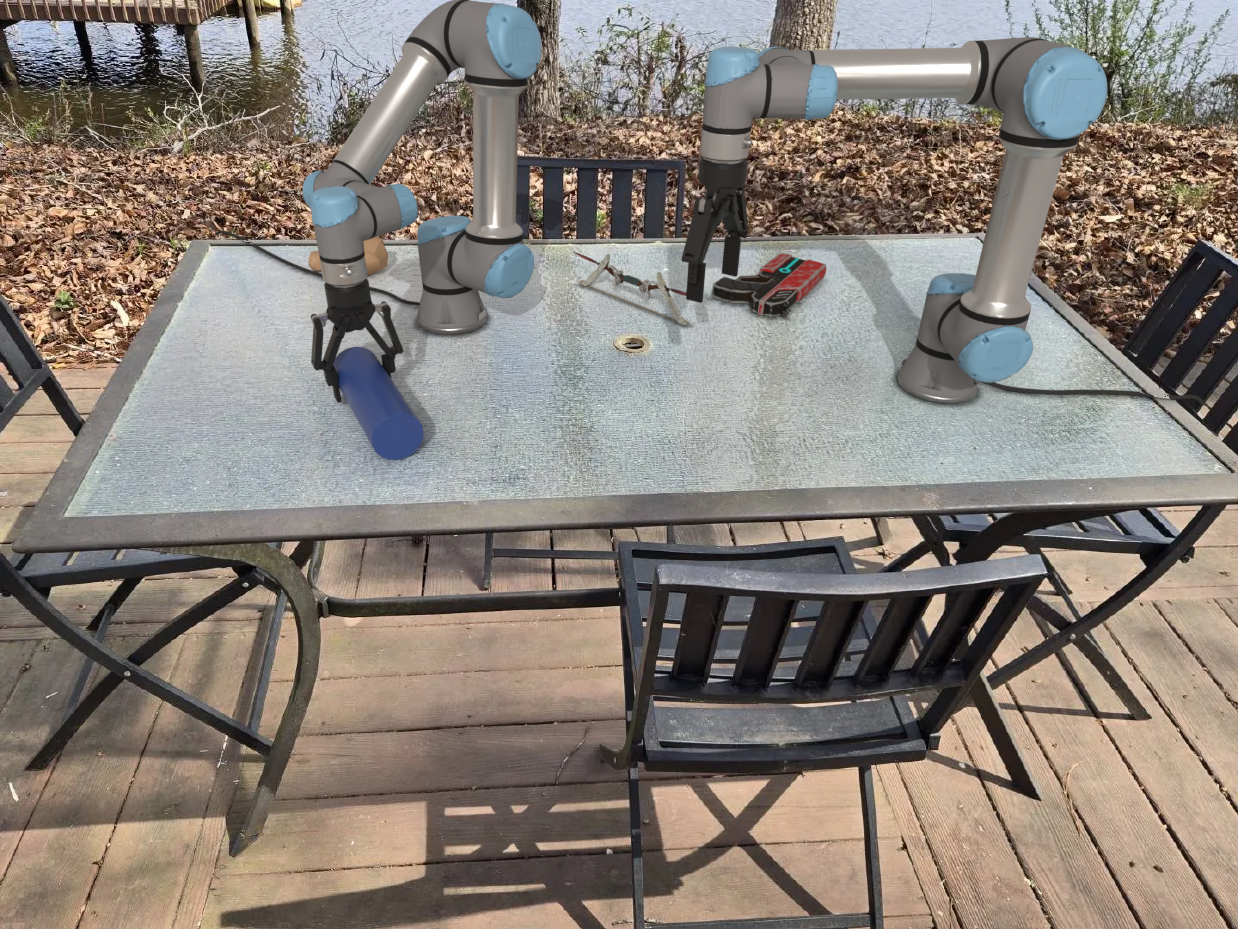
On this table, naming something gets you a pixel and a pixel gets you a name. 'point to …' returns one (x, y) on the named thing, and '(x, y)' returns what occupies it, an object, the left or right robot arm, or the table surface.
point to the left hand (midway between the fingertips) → (363, 393)
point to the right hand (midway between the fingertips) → (712, 287)
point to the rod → (378, 404)
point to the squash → (373, 256)
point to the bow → (643, 285)
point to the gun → (772, 285)
